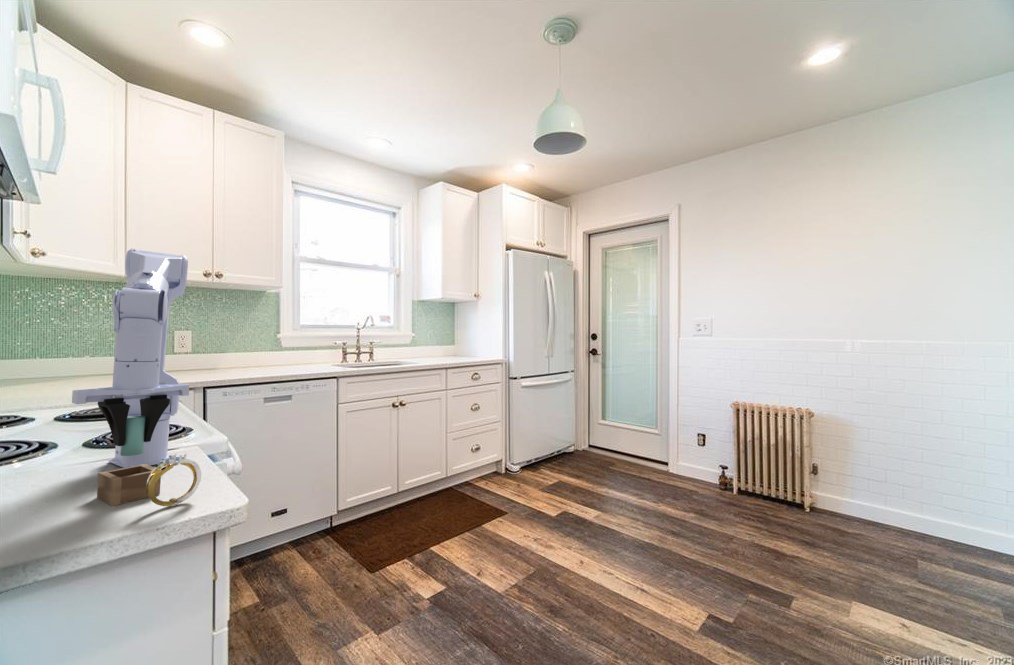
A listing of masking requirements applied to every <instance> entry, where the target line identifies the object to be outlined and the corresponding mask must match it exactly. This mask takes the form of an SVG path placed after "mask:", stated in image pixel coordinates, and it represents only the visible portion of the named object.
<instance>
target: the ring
mask: <svg viewBox="0 0 1014 665" xmlns="http://www.w3.org/2000/svg"><path fill="white" fill-rule="evenodd" d="M187 454H188V453H187ZM187 454H186V453H184V454H180V455H179V456H177V455H178V454H177V453H173V454H170V455H168V456H169V458H168V459H162V462H161V463H159V464H156V466H154V469H153V470H152V472H151V473H150V475H149V477H148V480H147V483H146V493H147V496H148V497H147V498H148V499H149V500H150V501H151V502H152V503H154V504H155V505H158V506H160V507H177V506H178V505H179V504H181V503H183V502H185V501H187V500H188V499H189V498H191V497H192V495H193V494H195V492H196V491H197V489H198V488H199V485H200V484H201V481H202V470H201V467H200V465H199V464H198V462H196V461H195V460H193V459H189V458H187ZM178 465H183V466H186V467H188V468H189V469H190V471H191V472H192V475H193V480H192V481H193V482H192V484H191V485H190V488H189V489H188V490H187V491H185V493H184V494H183V495H181V496H179V497H177V498H176V497H173V498H170V499H169V500H160V499H159V498H157V497H156V496H157V495H155V494H154V486H155V484H156V482H157V481H158V479H159V478H160V477H161V478H162V476H163V475H164V474H166V473H167V472H169V471H170V470H172V469H173V468H174V467H176V466H178Z"/></svg>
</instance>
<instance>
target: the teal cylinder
mask: <svg viewBox="0 0 1014 665" xmlns="http://www.w3.org/2000/svg"><path fill="white" fill-rule="evenodd" d="M144 432H145V416H129V417H127V422H126V440H125V445H124V446H121V451H120V455H121V456H133V455H139V454H142V453H143V447H144Z"/></svg>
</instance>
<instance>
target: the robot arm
mask: <svg viewBox="0 0 1014 665" xmlns="http://www.w3.org/2000/svg"><path fill="white" fill-rule="evenodd" d="M124 263H125V276H126V279H127V280H126V281H127V282H126V284H125V285H124V287H123V288H122V289H121V290H118V289H117V290H115V292H114V295H113V298H112V299H113V300H112V315H113V321H114V322H113V332H114V333H116V334H115V335H116V336H115V342H114V343H115V345H114V357H113V374H112V386H110V387H99V388H98V387H97V388H87V389H86V388H85V389H75V390H74V389H73V390H72V393H71V394H72V395H71V403H72V404H74V405H85V404H88V403H89V404H91V403H97V406H98V408H99V410H100V411H101V412H102V414H103V416H104V418H105V420H106V422H107V424H108V426H109V429H110V432H111V436H112V441H113V442H112V443H113V445H114V447H115V450H114V458H109V459H108V460H107V461H108V462H109V463H111V464H113V465H116V466H118V467H120V468H126V467H131V466H136V465H142V464H147V465H149V466H155V465H156V466H157V465H158V464H159V463H161V462H162V459H168V458H169V456H170V455H168V448H169V434H170V418H171V417H173V416H175V415H177V414H178V411H179V402H180V396H181V397H184V396H185V397H186V396H189V395H190V384H188V383H187V384H186V383H180V382H179V380H178V378H177V377H175V376H173V375H172V374H171V373H168V372H167V371H166V370H165V364H166V353H167V342H168V341H167V339H168V327H169V319H170V308H171V306H172V303H173V301H174V299H175V298H178V297H182V296H184V294H185V291H186V288H187V280H188V272H189V271H188V270H189V269H188V268H189V266H188V265H189V258H188V257H187V256H186V255H185V254H181V255H179V254H173V253H163V252H158V251H148V250H142V249H136V248H133V247H132V248H130V249H129V250H127V251H126V256H125V262H124ZM129 416H145V432H144V447H143V453H142V454H139V455H133V456H121V455H120V451H121V446H124V445H125V440H126V422H127V417H129Z"/></svg>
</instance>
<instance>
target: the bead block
mask: <svg viewBox="0 0 1014 665" xmlns="http://www.w3.org/2000/svg"><path fill="white" fill-rule="evenodd" d="M154 468H155V466H153V465H151V466H149V465H147V464H142V465H136V466H131V467H126V468H122V467H120V468H117V469H110V470H106V471H100V472H98V474H97V475H98V476H97V477H98V478H97V491H96V498H97V499H99V500H100V501H103V502H104V503H106V504H108V505H109V506H112V507H114V506H118V505H122V504H123V505H124V504H126V503H130V502H134V501H138V500H142V499H147V498H149V497H148V496H147V493H146V483H147V480H148V477H149V475H150V473H151V472H152V470H153V469H154ZM161 480H162V476H161V477H160V478H159V479H158V481H157V482H156V484H155V486H154V494H155V496H157V495H161Z"/></svg>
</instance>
